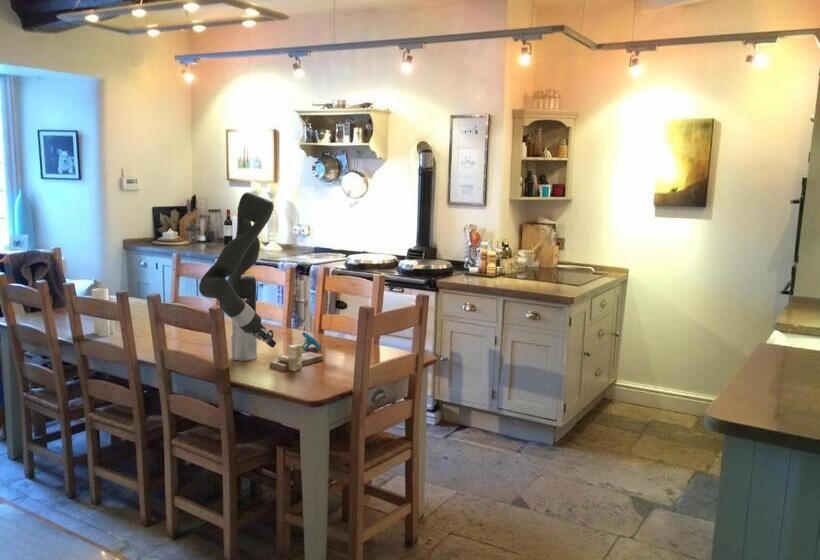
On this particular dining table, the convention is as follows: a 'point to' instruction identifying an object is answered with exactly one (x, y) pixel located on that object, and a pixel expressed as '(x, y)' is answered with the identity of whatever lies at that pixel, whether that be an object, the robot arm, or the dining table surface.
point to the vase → (102, 325)
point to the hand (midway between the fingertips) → (273, 345)
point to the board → (306, 359)
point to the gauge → (293, 357)
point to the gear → (310, 341)
